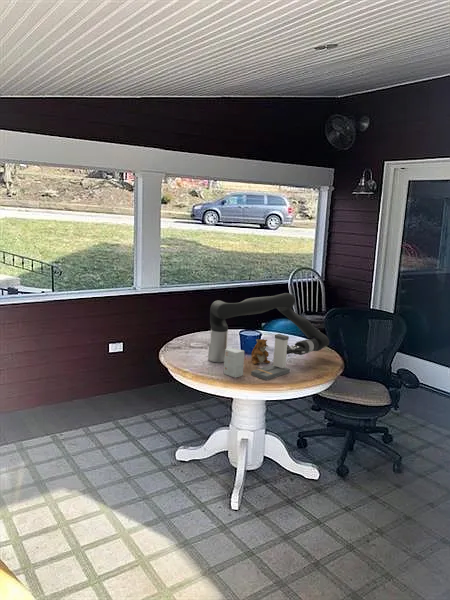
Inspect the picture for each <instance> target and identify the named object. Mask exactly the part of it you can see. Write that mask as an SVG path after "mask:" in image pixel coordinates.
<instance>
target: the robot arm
mask: <svg viewBox="0 0 450 600" xmlns="http://www.w3.org/2000/svg"><path fill="white" fill-rule="evenodd" d="M295 303H296V297H295V296H294V295H293V294H291V293H288V292H284V293H280V294H275V295H271V296H270V295H269V296H268V295H267V296H259V297H258V296H257V297H256V296H255V297H250V298H245V299H244V300H242V301H240V302H226V301H223V300H220V299H219V300H218V299H217V300H215V301H213V302H212V303H211V305H210V310H209V324H210V340H209V341H210V342H209V343H208V351H207V354H208V355H207V361H210V362H213V363H224V358H225V349H228V347H227V346H228V333H229V331H228V330H229V326H228V324H227V321H226V319H231V318H235V317H239V316H247V315H248V316H250V315H257V314H258V315H259V314H263V313H266V312H269V311H271V310H274V309H277V311H279V312H280V313H281V314H282V315H283V316H285V317H286V318H288V320H289V321H290V322H292V323H293V324H294V325H295V326H296V327H297V328H298V329H299V330H300V331H301V332H302V333H303V334H304V335H305V337H307V338H309V339H303V340H300V341H299V340H298V341H296V342H295V343H294V344H293V345H289V344H287V355H290V354H294V355H299V356H302V355H306V354H309V353H311V352H319V351H321V350H323V349H324V348H326V347H327V346H328V345H330V339H329V338H328V336H327V335H326V334H324V333H323V332H321V331H320V330H318V329H317V328H316V327H315V326H314V324H312V322H310V320H308V319H307V318H305V317H304V316H302V315H300V314H298V312H297V313H296V312H295V311H294V310H293V306H294V305H295Z"/></svg>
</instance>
